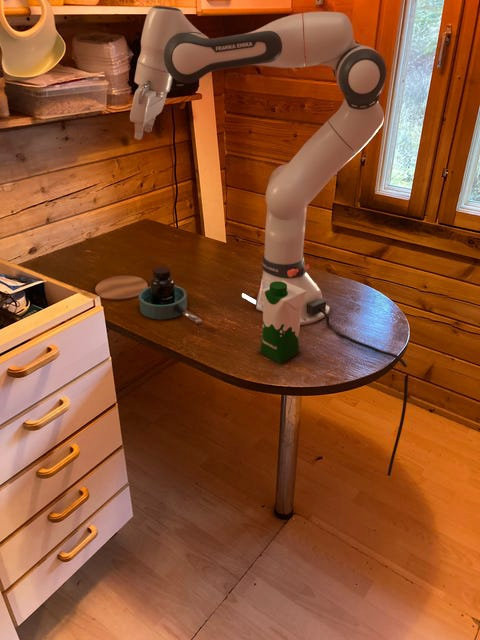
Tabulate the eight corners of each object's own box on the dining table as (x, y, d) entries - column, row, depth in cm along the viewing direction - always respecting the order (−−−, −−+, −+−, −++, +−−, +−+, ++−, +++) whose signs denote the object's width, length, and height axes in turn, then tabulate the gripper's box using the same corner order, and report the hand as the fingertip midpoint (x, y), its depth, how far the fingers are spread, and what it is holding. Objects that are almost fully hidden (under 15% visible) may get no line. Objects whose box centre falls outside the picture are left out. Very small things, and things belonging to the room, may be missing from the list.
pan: (196, 310, 148) (195, 296, 146) (156, 325, 140) (155, 311, 138) (170, 293, 157) (169, 280, 155) (131, 306, 149) (129, 293, 147)
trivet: (157, 289, 159) (157, 288, 158) (111, 305, 150) (110, 303, 149) (131, 272, 169) (131, 271, 169) (86, 286, 160) (86, 284, 160)
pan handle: (203, 325, 137) (203, 319, 136) (197, 328, 135) (197, 321, 134) (177, 308, 144) (177, 302, 143) (172, 310, 143) (171, 304, 142)
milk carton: (254, 352, 130) (257, 281, 120) (278, 339, 135) (283, 270, 125) (280, 367, 124) (285, 294, 114) (304, 353, 130) (311, 282, 120)
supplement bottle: (168, 315, 145) (165, 276, 139) (147, 310, 147) (143, 272, 141) (179, 304, 150) (177, 267, 144) (159, 300, 152) (156, 263, 146)
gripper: (155, 88, 118) (144, 147, 125) (173, 78, 135) (163, 131, 142) (129, 79, 117) (119, 139, 124) (150, 71, 135) (141, 124, 142)
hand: (142, 134), depth 133 cm, fingers open, 8 cm apart
